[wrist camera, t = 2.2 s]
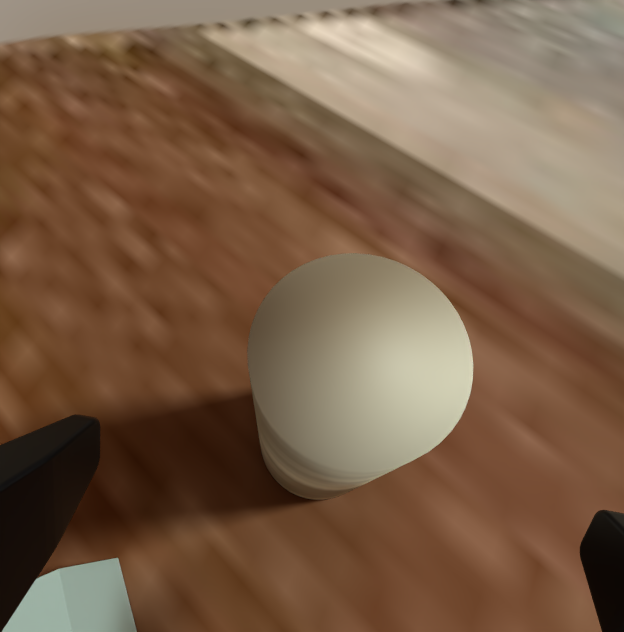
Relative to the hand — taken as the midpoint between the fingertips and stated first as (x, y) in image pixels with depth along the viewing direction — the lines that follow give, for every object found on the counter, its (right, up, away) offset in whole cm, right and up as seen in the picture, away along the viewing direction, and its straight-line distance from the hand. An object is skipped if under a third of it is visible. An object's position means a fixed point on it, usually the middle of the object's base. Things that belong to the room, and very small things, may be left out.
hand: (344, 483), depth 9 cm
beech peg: (0, -2, +10) cm, 10 cm away
